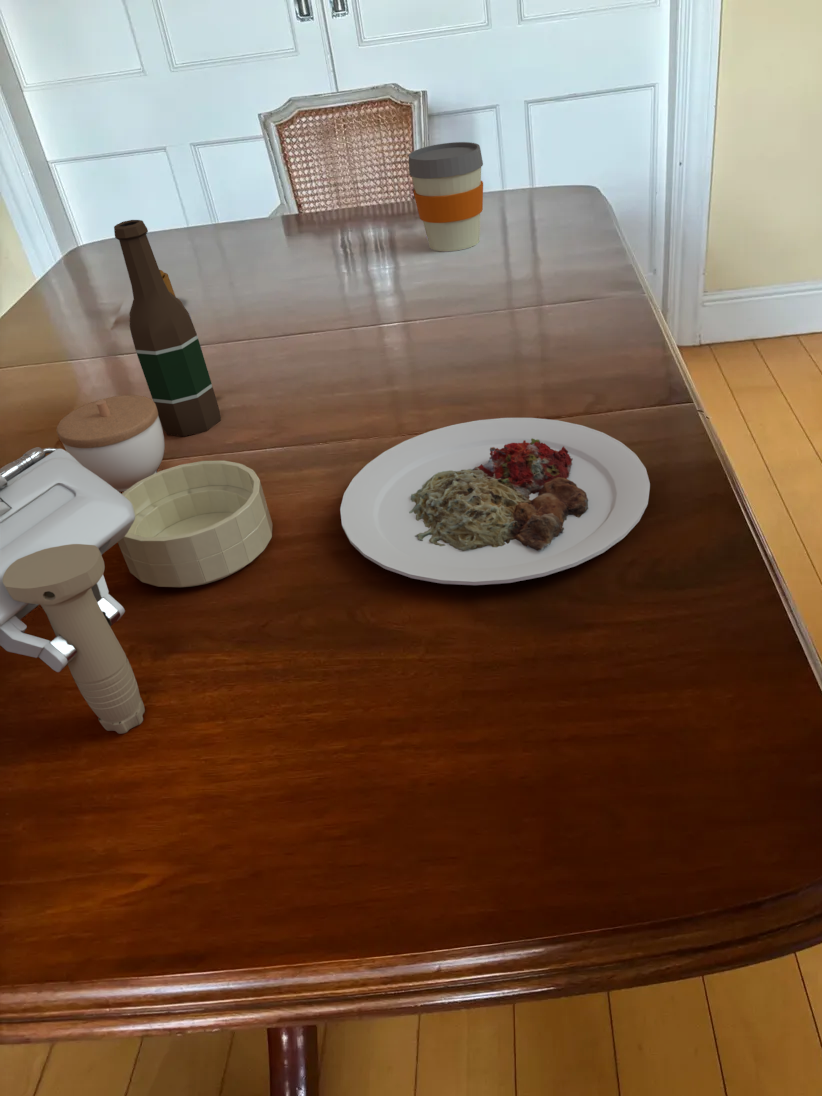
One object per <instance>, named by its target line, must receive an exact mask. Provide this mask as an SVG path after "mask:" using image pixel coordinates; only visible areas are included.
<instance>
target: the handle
mask: <svg viewBox="0 0 822 1096" xmlns="http://www.w3.org/2000/svg"><path fill="white" fill-rule="evenodd" d="M105 568H106V566H105V561H104V558H103V554H102V555H101V553H100V551H99V549H98V548H97V547H96V546H95V545H85V544H69V545H63V546H57V547H52V548H47V549H43V550H40V551H37V552H35V553H32V554H30V555H27V556H25V557H22V558H20V559H17V560H16V561H15V562H13V563H12V564H11V565H10V566H9V567H8V568H7V570H6V571H5V573H4V576H3V583H4V585H5V587H6V589H7V591H8V593H9V595H10V596H11V597H12V598H13V600H15V601H20V602H24V603H30V604H39V605H40V606H41V608H42V610H43V611H44V613H45V614H46V616H47V619H48V621H49V624H50V626H51V628H52V630H53V633H54V635H55V638H56V637H57V636H58V635H59V634H60V635H61V636H62V637H63V638H64V639H65V640H66V641H67V644H68V645H72V646H73V647H74V648H75V649H76V650H77V655H76V656H75V658H74V659H73V660H72V661H71V662H70V663H69V664H68V665H67V667H68V669H69V672H70V674H71V676H72V678H73V681H74V682H75V684H76V686H77V689H78V690H79V692H80V694H81V695H82V697H83V699H84V700H85V702H86V704H87V705H88V707H89V708H90V709H91V710H92V712H93V713H94V714H95V715H96V716H97V717H98V719H97V720H98V722H99V723H100V725H101V726H102V727H103V729H105V730H106V731H108V732H110V731H111V732H115V733H117V734H119V735H122V734H126V733H128V732H129V731H130V730H131V729H133V728H135V727H137V726H140V725H141V724H142V723H143V722H144V717H143V715H144V714H145V711H146V709H145V705H144V702H143V698H142V697H141V695H140V689H139V685H138V682H137V679H136V676H135V673H134V671H133V667H132V666H131V663H130V661H129V658H128V657H127V655H126V652H125V651H124V648H123V647H122V645H121V643H120V642H119V640H118V638H117V635H116V634H115V633H114V631H113V629H112V626H111V627H110V625H109V624H108V622H107V620H106V618H105V616H104V614H103V612H102V610H101V608H100V607H99V605H98V603H97V601H96V599H95V597H94V595H93V592H92V589H91V588H92V587H93V586H94V585H95V584H96V583H97V582H98V581H99V580H100V578H101V577H102V575H104V573H105ZM39 605H38V606H39Z"/></svg>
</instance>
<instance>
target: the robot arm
mask: <svg viewBox="0 0 822 1096" xmlns="http://www.w3.org/2000/svg"><path fill="white" fill-rule="evenodd" d="M134 520H135V513H134V509H133V505H132V503H131V502H130V501H129V500H128V499H127V498H126V497H124V496H123V495H122V493H121V492H118V491H117V490H116V489H114V488H113V487H112V486H111V485H109V484H108V483H107V482H105V481H104V480H103V479H101V478H100V477H98V476H97V475H96V474H94V473H93V472H91V471H90V470H88V469H87V468H85V467H83V466H82V465H81V464H80V463H79V462H78V461H77V460H76V459H75V458H74V457H73V456H72V455H70V454H69V453H68V452H67V451H66V449H63V448H57V447H45V448H41V447H39V446H37V447H33V448H31V449H29V450H27V451H25V452H24V453H23V454H22V456H20V457H19V458H17V459H15V460H13V461H11V462H9V463H7V464H5V465H3V466H2V467H1V468H0V647H2V648H3V650H5V651H6V652H8V653H14V654H18V655H23V656H26V657H30V658H35V659H37V658H39V659H40V660H41V661H42V662H43V663H45V664H46V665H47V666H48V667H49V668H51V670H53V671H55V672H56V673H61V672H62V670H64V669H65V668H66V667H68V664H69V663H70V662H71V661H72V660H73V659H74V658H75V656H76V655H77V650H76V649H75V648H74V647H73V646H72V645H68V644H67V641H66V640H65V639H64V638H63V637H62V636H61V635H60V634H59V635H58V636H57V637H56V636H55V637H54V638H53V639H52V640H49V639H45V638H42V637H39V636H35V635H32V634H29V633H25V632H26V630H27V628H28V627H27V624H26V623H24V621H22V619H23V618H25V617H26V616H27V615H28V614H30V613H31V612H32V611H33V610H35V609H36V608H37V607H39V604H30V603H24V602H20V601H15V600H13V598H12V597H11V596H10V595H9V593H8V591H7V589H6V587H5V585H4V583H3V576H4V573H5V571H6V570H7V568H8V567H9V566H10V565H11V564H12V563H13V562H15V561H16V560H17V559H20V558H22V557H25V556H27V555H30V554H32V553H35V552H37V551H40V550H43V549H47V548H52V547H57V546H63V545H69V544H85V545H95V546H96V547H97V548H98V549H99V551H100V553H101V555H102V556H103V555H104V554H105V552H108V551H109V549H111V548H112V547H113V546H115V545H116V544H118V541H120V540H121V539H122V538H123V537H124V536H125V535H126V534H127V532H128V531H129V529H130V528H131V526H132V524H133V522H134ZM91 589H92V592H93V595H94V597H95V599H96V601H97V603H98V605H99V607H100V608H101V610H102V612H103V614H104V616H105V618H106V620H107V622H108V624H109V625H110V627H111V628H112V626H114V624H116V623H117V622H118V621H119V620H121V618H122V617H123V615H124V614H125V613H126V610H125V608H124V606H123V605H122V604H121V603H120V602H119V601H117V600H116V599H115V598H114V597H113V596H112V595H111V594H110V593H109V592H110V591H109V588H108V585H107V581H106V579H105V576H104V574H103V575H102V577H101V578H100V580H99V581H98V582H97V583H96V584H95V585H94V586H93V587H92V588H91Z"/></svg>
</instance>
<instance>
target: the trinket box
mask: <svg viewBox="0 0 822 1096" xmlns="http://www.w3.org/2000/svg"><path fill="white" fill-rule="evenodd" d="M56 433H57V436H58V438H59V441H60V442H61V443H62V444H63V447H64V450H65V451H67V452H68V453H69V454H70V455H72V456H73V457H74V458H75V459H76V460H77V461H78V462H79V463H80V464H81V465H82V466H83V467H85V468H87V469H88V470H90V471H91V472H93V473H94V474H96V475H97V476H98V477H100V478H101V479H103V480H104V481H105V482H107V483H108V484H109V485H111V486H112V487H113V488H114V489H116V490H117V491H118V492H120V493H121V492H122V493H123V492H124V491H126V490H127V489H129V488H130V487H132V486H133V485H134V484H136V483H137V482H139V481H140V480H142V479H145V478H147V477H149V476H151V475H153V474H155V473H157V472H158V471H157V470H158V469H159V467H160V466H161V464H162V461H163V459H164V455H165V449H166V448H165V447H166V445H165V443H166V442H165V435H164V429H163V427H162V424H161V422H160V419H159V416H158V410H157V407H156V404H155V403H154V401H153V399H152V398H150V397H146V396H144V395H137V394H125V395H123V394H121V395H115V396H109V397H105V398H102V399H97V400H94V401H91V402H89V403H86V404H83V405H82V406H80V407H77V408H76V409H73V410H72V411H70V412H69V413H68V414H66V415H65V416H64V417H62V418H61V419H60V421H59V423H58V424H57V427H56Z"/></svg>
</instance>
